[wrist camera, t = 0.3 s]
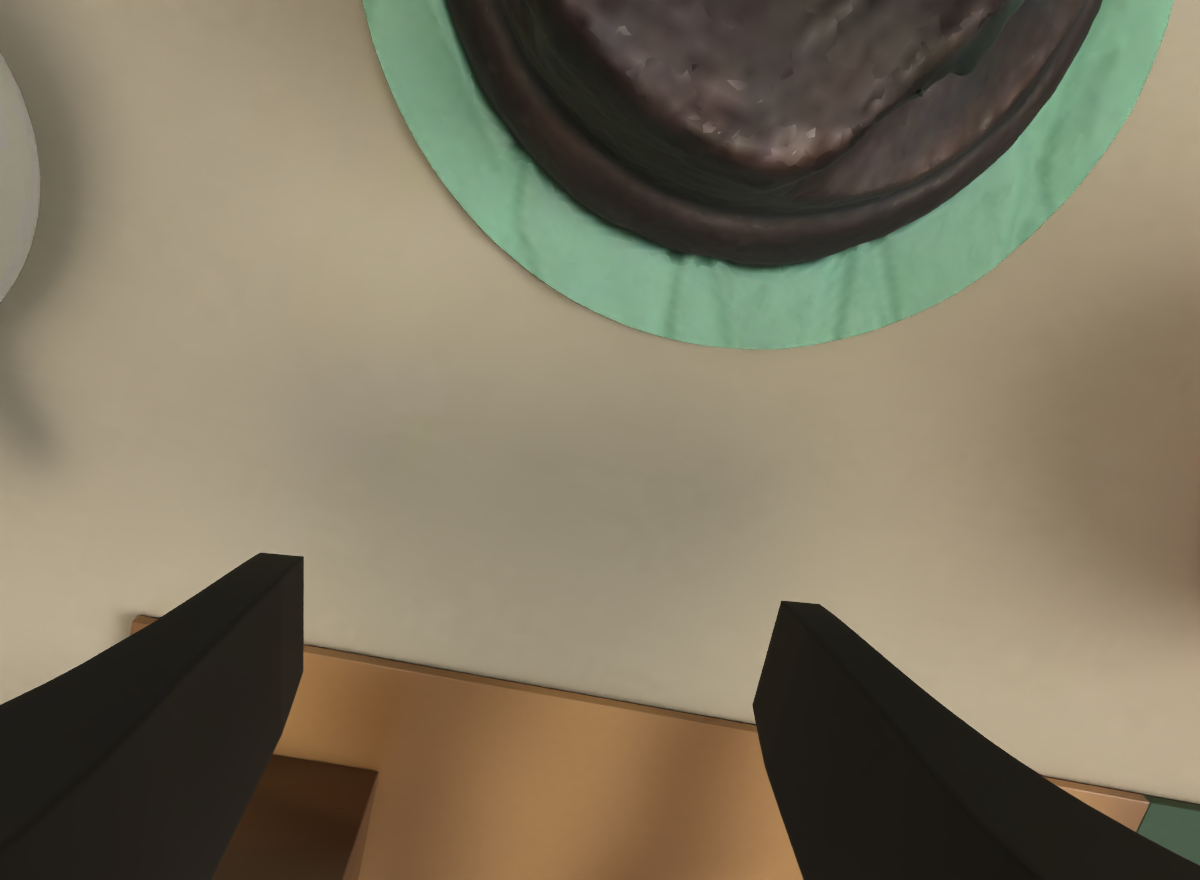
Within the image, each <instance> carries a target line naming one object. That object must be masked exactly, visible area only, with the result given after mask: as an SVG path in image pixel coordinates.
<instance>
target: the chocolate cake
mask: <svg viewBox="0 0 1200 880" xmlns="http://www.w3.org/2000/svg"><path fill="white" fill-rule="evenodd" d="M362 1H363V6H364V10H365V14H366V18H367V22H368V26H369V29H370V33H371V37H372V40H373V43H374V47H375V50H376V53H377V56H378V59H379V61H380V64H381V67H382V70H383V72H384V75H385V77H386V80H387V82H388V85H389V87H390V89H391V92H392V94H393V96H394V99H395V101H396V103H397V105H398V107H399V109H400V112H401V114H402V116H403V118H404V120H405V122H406V124H407V125H408V127H409V129H410V131H411V133H412V135H413V137H414V138H415V140H416V142H417V144H418V145H419V147H420V149H421V150H422V152H423V153H424V155H425V157H426V158H427V160H428V161H429V163H430V164H431V166H432V167H433V169H434V170H435V172H436V173H437V175H438V176H439V178H440V179H441V180H442V182H443V183H444V185H445V186H446V187H447V189H448V190H449V191H450V193H451V194H452V195H453V196H454V198H455V199H456V200H457V201H458V203H459V204H460V205H461V206H462V208H463V209H464V210H465V211H466V212H467V213H468V215H469V216H470V217H471V218H472V219H473V220H474V221H475V222H476V223H477V225H478V226H479V227H480V228H481V229H482V230H483V231H484V232H485V233H486V234H487V235H488V236H489V237H490V238H491V239H492V240H493V241H494V242H495V243H496V244H498V245H499V246H500V247H501V248H502V249H503V250H504V251H505V252H506V253H508V254H509V255H510V256H511V257H512V258H513V259H514V260H516V261H517V262H518V263H519V264H521V265H522V266H523V267H524V268H526V269H527V270H528V271H529V272H531V273H532V274H533V275H535V276H536V277H538V278H539V279H540V280H542V281H543V282H545V283H546V284H547V285H549V286H550V287H552V288H553V289H555V290H557V291H558V292H560V293H561V294H563V295H565V296H566V297H568V298H570V299H571V300H573V301H575V302H577V303H579V304H580V305H582V306H584V307H586V308H588V309H590V310H592V311H594V312H596V313H598V314H601V315H603V316H605V317H607V318H610V319H612V320H614V321H617V322H619V323H622V324H624V325H627V326H629V327H632V328H635V329H638V330H641V331H644V332H647V333H650V334H654V335H658V336H661V337H665V338H669V339H673V340H677V341H682V342H687V343H692V344H698V345H705V346H714V347H724V348H737V349H786V348H795V347H804V346H810V345H816V344H820V343H825V342H829V341H834V340H840V339H844V338H848V337H852V336H856V335H860V334H863V333H867V332H870V331H873V330H876V329H879V328H881V327H884V326H887V325H889V324H892V323H894V322H897V321H900V320H902V319H905V318H907V317H909V316H912V315H914V314H916V313H919V312H921V311H923V310H925V309H927V308H929V307H932V306H934V305H936V304H938V303H940V302H942V301H944V300H945V299H947V298H949V297H951V296H953V295H954V294H956V293H958V292H959V291H961V290H963V289H964V288H966V287H967V286H969V285H970V284H972V283H973V282H975V281H976V280H978V279H979V278H981V277H982V276H984V275H985V274H987V273H988V272H989V271H991V270H992V269H993V268H995V267H996V266H997V265H998V264H999V263H1000V262H1002V261H1003V260H1004V259H1005V258H1006V257H1007V256H1008V255H1009V254H1010V253H1011V252H1012V251H1014V250H1015V249H1016V248H1017V247H1018V246H1020V245H1021V244H1022V243H1023V242H1024V241H1026V240H1027V239H1028V238H1029V237H1030V236H1031V235H1032V234H1033V233H1034V232H1035V231H1036V230H1037V229H1038V228H1039V227H1040V226H1041V225H1042V224H1043V223H1044V222H1045V221H1046V220H1047V219H1048V218H1049V217H1050V216H1051V215H1052V214H1053V213H1054V212H1055V211H1056V210H1057V209H1058V208H1059V207H1060V206H1061V205H1062V204H1063V203H1064V202H1065V201H1066V200H1067V199H1068V198H1069V196H1070V195H1071V194H1072V193H1073V192H1074V191H1075V190H1076V189H1077V187H1078V186H1079V185H1080V184H1081V182H1082V181H1083V180H1084V178H1085V177H1086V176H1087V175H1088V173H1089V172H1090V171H1091V170H1092V168H1093V167H1094V166H1095V164H1096V163H1097V162H1098V161H1099V159H1100V158H1101V156H1102V155H1103V154H1104V152H1105V151H1106V150H1107V148H1108V147H1109V145H1110V144H1111V143H1112V141H1113V140H1114V138H1115V136H1116V135H1117V133H1118V132H1119V130H1120V129H1121V127H1122V126H1123V124H1124V123H1125V121H1126V120H1127V118H1128V116H1129V115H1130V113H1131V111H1132V109H1133V107H1134V105H1135V103H1136V101H1137V99H1138V97H1139V95H1140V92H1141V90H1142V88H1143V86H1144V83H1145V81H1146V79H1147V76H1148V74H1149V72H1150V69H1151V67H1152V65H1153V62H1154V60H1155V57H1156V55H1157V52H1158V49H1159V46H1160V44H1161V41H1162V38H1163V36H1164V33H1165V30H1166V27H1167V24H1168V21H1169V17H1170V13H1171V9H1172V3H1173V0H362ZM545 36H546V37H545Z"/></svg>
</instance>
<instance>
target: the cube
mask: <svg viewBox="0 0 1200 880" xmlns="http://www.w3.org/2000/svg"><path fill="white" fill-rule="evenodd" d="M377 779H378V771H373V770H367V769H360V768H354V767H348V766H342V765H336V764H330V763H323V762H317V761H311V760H305V759H299V758H293V757H286V756H280V755H274V754H272V756H271V758H270V760H269V762H268V764H267V767H266V769H265V771H264V773H263V775H262V777H261V779H260V781H259V783H258V785H257V787H256V789H255V791H254V793H253V795H252V797H251V799H250V801H249V803H248V805H247V808H246V810H245V812H244V814H243V816H242V818H241V820H240V822H239V824H238V826H237V828H236V830H235V832H234V834H233V836H232V838H231V840H230V842H229V844H228V846H227V848H226V850H225V852H224V854H223V856H222V858H221V860H220V862H219V864H218V866H217V869H216V871H215V873H214V875H213V877H212V879H211V880H358V877H359V872H360V867H361V862H362V856H363V851H364V846H365V841H366V836H367V831H368V826H369V821H370V815H371V810H372V805H373V800H374V795H375V790H376V785H377Z"/></svg>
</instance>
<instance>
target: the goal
mask: <svg viewBox="0 0 1200 880" xmlns="http://www.w3.org/2000/svg"><path fill="white" fill-rule="evenodd" d="M1143 796H1144V797H1145V798H1146V799H1147V800H1148V801H1149V802H1150V804H1149V806H1148V808H1147V810H1146V812H1145V814H1144V816H1143V818H1142V820H1141V823H1140V825H1139V827H1138V829H1137V831H1136V832H1137V833H1138V834H1140V835H1142V836H1144V837H1146V838H1148V839H1149V840H1151V841H1153V842H1155V843H1157V844H1159V845H1161V846H1163V847H1165V848H1167V849H1168V850H1170V851H1172V852H1174V853H1176V854H1178V855H1180V856H1182V857H1184V858H1186V859H1188V860H1190V861H1192V862H1194V863H1196V864H1198V865H1200V805H1196V804H1190V803H1185V802H1179V801H1174V800H1168V799H1162V798H1157V797H1151V796H1146V795H1143Z"/></svg>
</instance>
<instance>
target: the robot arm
mask: <svg viewBox="0 0 1200 880" xmlns="http://www.w3.org/2000/svg"><path fill="white" fill-rule="evenodd" d="M303 590H304V557H301V556H290V555H279V554H268V553H259V554H257V555H256V556H254V557H252V558H251V559H249V560H248V561H246V562H244V563H243V564H241V565H240V566H238V567H237V568H235V569H234V570H232V571H231V572H229V573H228V574H226V575H225V576H223V577H222V578H220V579H219V580H217V581H216V582H214V583H213V584H211V585H210V586H208V587H207V588H205V589H204V590H202V591H201V592H199V593H198V594H196V595H195V596H193V597H192V598H190V599H189V600H187V601H185V602H184V603H182V604H181V605H179V606H178V607H176V608H175V609H173V610H172V611H170V612H168V613H167V614H165V615H164V616H162V617H161V618H159V619H158V620H156V621H154V622H153V623H151V624H150V625H148V626H146V627H144V628H143V629H141V630H139V631H138V632H136V633H134V634H132V635H131V636H129V637H127V638H126V639H124V640H122V641H121V642H119V643H117V644H115V645H114V646H112V647H110V648H109V649H107V650H105V651H103V652H102V653H100V654H98V655H97V656H95V657H93V658H91V659H90V660H88V661H86V662H85V663H83V664H81V665H79V666H77V667H75V668H74V669H72V670H70V671H68V672H66V673H64V674H62V675H60V676H58V677H56V678H55V679H53V680H51V681H49V682H47V683H45V684H43V685H41V686H39V687H37V688H35V689H33V690H31V691H28V692H26V693H24V694H22V695H20V696H18V697H16V698H14V699H12V700H10V701H8V702H6V703H4V704H2V705H0V880H211V879H212V877H213V875H214V873H215V871H216V869H217V866H218V864H219V862H220V860H221V858H222V856H223V854H224V852H225V850H226V848H227V846H228V844H229V842H230V840H231V838H232V836H233V834H234V832H235V830H236V828H237V826H238V824H239V822H240V820H241V818H242V816H243V814H244V812H245V810H246V808H247V805H248V803H249V801H250V799H251V797H252V795H253V793H254V791H255V789H256V787H257V785H258V783H259V781H260V779H261V777H262V775H263V773H264V771H265V769H266V767H267V764H268V762H269V760H270V758H271V756H272V754H273V752H274V750H275V748H276V746H277V744H278V742H279V739H280V737H281V735H282V733H283V730H284V727H285V724H286V721H287V719H288V716H289V713H290V710H291V707H292V704H293V701H294V698H295V695H296V692H297V689H298V686H299V683H300V680H301V677H302V674H303ZM753 710H754V716H755V721H756V727H757V732H758V737H759V742H760V747H761V751H762V756H763V761H764V765H765V769H766V772H767V775H768V778H769V781H770V784H771V787H772V790H773V793H774V796H775V799H776V802H777V805H778V808H779V811H780V814H781V817H782V820H783V823H784V825H785V828H786V831H787V834H788V837H789V840H790V843H791V846H792V848H793V851H794V854H795V857H796V860H797V863H798V866H799V869H800V871H801V874H802V877H803V880H1200V865H1198V864H1196V863H1194V862H1192V861H1190V860H1188V859H1186V858H1184V857H1182V856H1180V855H1178V854H1176V853H1174V852H1172V851H1170V850H1168V849H1167V848H1165V847H1163V846H1161V845H1159V844H1157V843H1155V842H1153V841H1151V840H1149V839H1148V838H1146V837H1144V836H1142V835H1140V834H1138V833H1137V832H1135V831H1133V830H1131V829H1130V828H1128V827H1126V826H1124V825H1123V824H1121V823H1119V822H1117V821H1116V820H1114V819H1112V818H1110V817H1109V816H1107V815H1105V814H1103V813H1102V812H1100V811H1098V810H1096V809H1095V808H1093V807H1091V806H1089V805H1088V804H1086V803H1084V802H1083V801H1081V800H1079V799H1078V798H1076V797H1074V796H1073V795H1071V794H1069V793H1068V792H1066V791H1064V790H1063V789H1061V788H1060V787H1058V786H1056V785H1055V784H1053V783H1052V782H1050V781H1049V780H1047V779H1046V778H1044V777H1043V776H1041V775H1040V774H1038V773H1037V772H1035V771H1034V770H1032V769H1031V768H1029V767H1027V766H1026V765H1024V764H1023V763H1021V762H1020V761H1018V760H1017V759H1015V758H1014V757H1012V756H1011V755H1009V754H1008V753H1006V752H1005V751H1004V750H1002V749H1001V748H999V747H998V746H996V745H995V744H994V743H992V742H991V741H989V740H988V739H987V738H985V737H984V736H983V735H981V734H980V733H979V732H977V731H976V730H975V729H973V728H972V727H971V726H969V725H968V724H967V723H965V722H964V721H963V720H961V719H960V718H959V717H957V716H956V715H955V714H953V713H952V712H951V711H949V710H948V709H947V708H946V707H944V706H943V705H942V704H940V703H939V702H938V701H937V700H935V699H934V698H933V697H932V696H930V695H929V694H928V693H927V692H925V691H924V690H923V689H922V688H921V687H919V686H918V685H917V684H916V683H914V682H913V681H912V680H911V679H910V678H908V677H907V676H906V675H905V674H904V673H902V672H901V671H900V670H899V669H898V668H896V667H895V666H894V665H893V664H892V663H890V662H889V661H888V660H887V659H886V658H885V657H883V656H882V655H881V654H880V653H879V652H878V651H876V650H875V649H874V648H873V647H872V646H870V645H869V644H868V643H867V642H866V641H865V640H863V639H862V638H861V637H860V636H859V635H858V634H856V633H855V632H854V631H853V630H852V629H850V628H849V627H848V626H847V625H846V624H844V623H843V622H842V621H841V620H840V619H838V618H837V617H836V616H835V615H833V614H832V613H831V612H829V611H828V610H827V609H825V608H824V607H822V606H821V605H820V604H811V603H800V602H789V601H781V604H780V608H779V612H778V615H777V619H776V622H775V626H774V630H773V633H772V637H771V641H770V644H769V648H768V651H767V655H766V659H765V662H764V666H763V670H762V673H761V677H760V680H759V684H758V688H757V691H756V695H755V698H754V702H753Z"/></svg>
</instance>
